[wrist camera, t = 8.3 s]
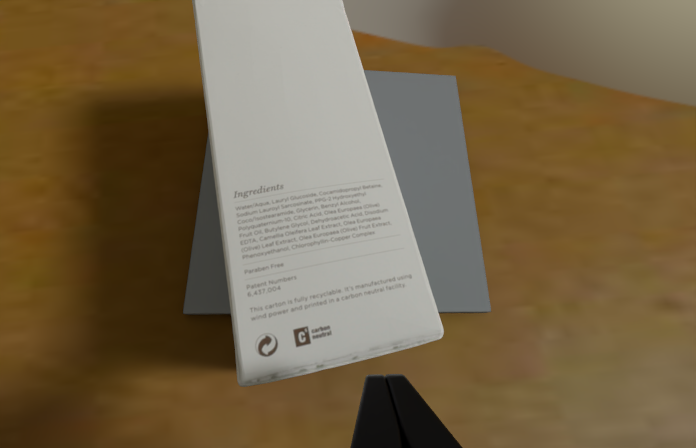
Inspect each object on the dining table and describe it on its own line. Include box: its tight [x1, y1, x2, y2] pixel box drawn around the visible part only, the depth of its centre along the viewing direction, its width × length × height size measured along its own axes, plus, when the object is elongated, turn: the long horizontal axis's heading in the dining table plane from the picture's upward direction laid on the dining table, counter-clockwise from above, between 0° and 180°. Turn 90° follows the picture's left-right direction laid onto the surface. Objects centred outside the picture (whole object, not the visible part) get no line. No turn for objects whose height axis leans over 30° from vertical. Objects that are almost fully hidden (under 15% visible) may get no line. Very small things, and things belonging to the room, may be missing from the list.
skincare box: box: [192, 0, 444, 387], centre depth 16 cm, size 8×7×16 cm
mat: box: [183, 70, 491, 314], centre depth 21 cm, size 16×16×1 cm
